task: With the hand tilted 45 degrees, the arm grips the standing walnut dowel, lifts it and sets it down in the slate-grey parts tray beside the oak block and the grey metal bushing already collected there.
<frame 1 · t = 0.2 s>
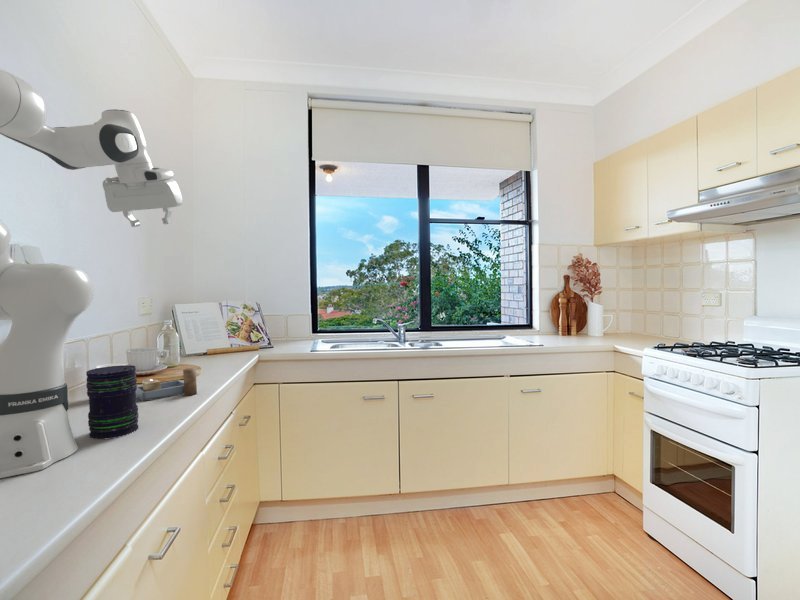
hand: (151, 225, 122), 52 cm above the counter, tool tilted 20°, fingers open, 8 cm apart
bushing: (148, 392, 136), point 1 cm above the counter, touching tray
oak block: (152, 394, 133), point 1 cm above the counter, touching tray
dowel: (190, 394, 136), on the counter
white cup: (112, 397, 135), on the counter
storage jar: (114, 432, 101), on the counter
tray: (162, 393, 137), on the counter
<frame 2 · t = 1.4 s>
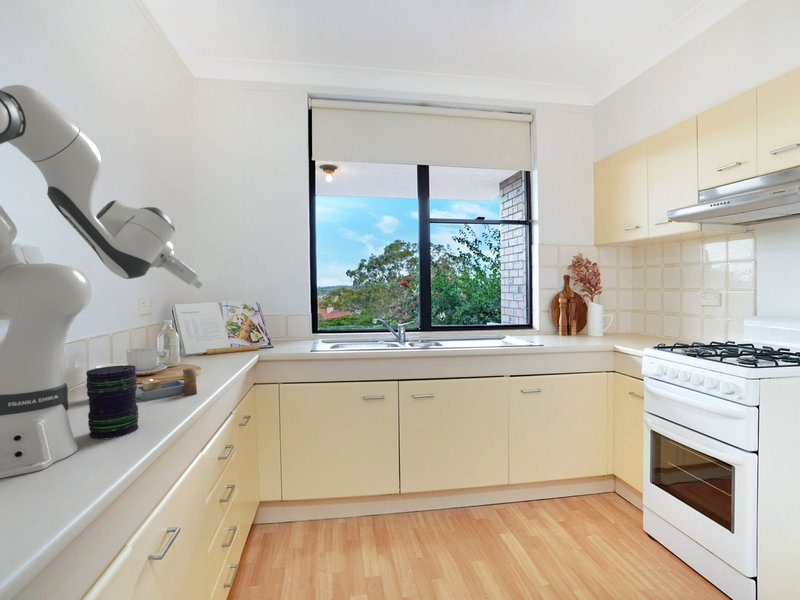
hand: (192, 281, 127), 36 cm above the counter, tool tilted 55°, fingers open, 8 cm apart
nothing on the counter moved.
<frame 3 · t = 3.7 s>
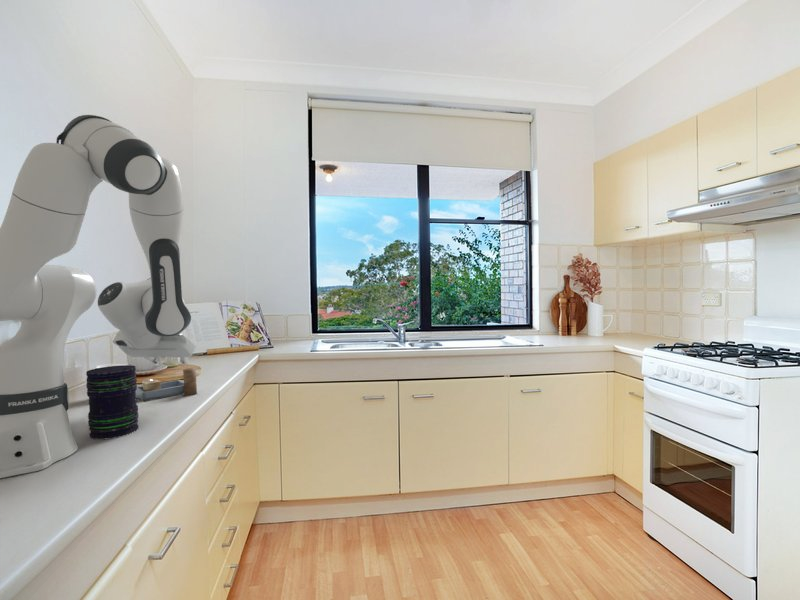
hand: (172, 361, 126), 12 cm above the counter, tool tilted 45°, fingers open, 8 cm apart
nothing on the counter moved.
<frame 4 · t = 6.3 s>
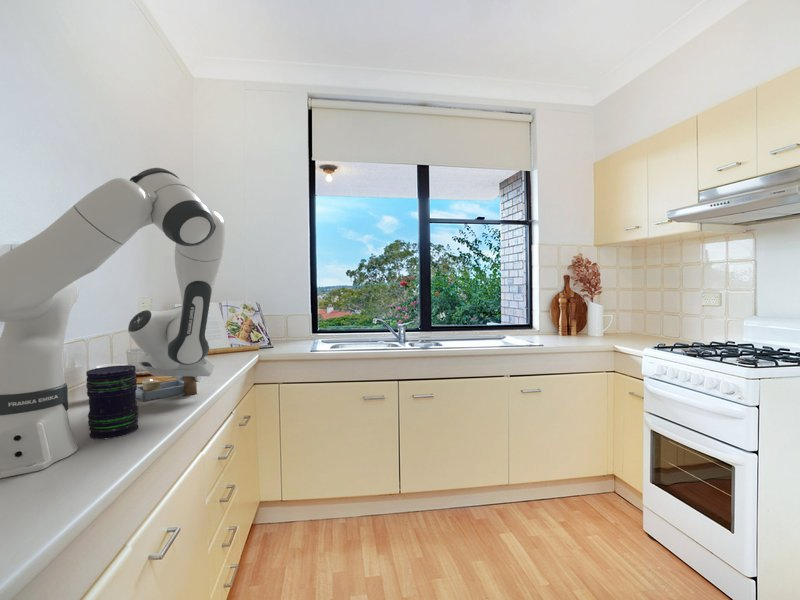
hand: (191, 380, 136), 4 cm above the counter, tool tilted 45°, fingers closed on dowel, 4 cm apart
dowel: (190, 394, 136), on the counter, touching gripper
everything else where it was.
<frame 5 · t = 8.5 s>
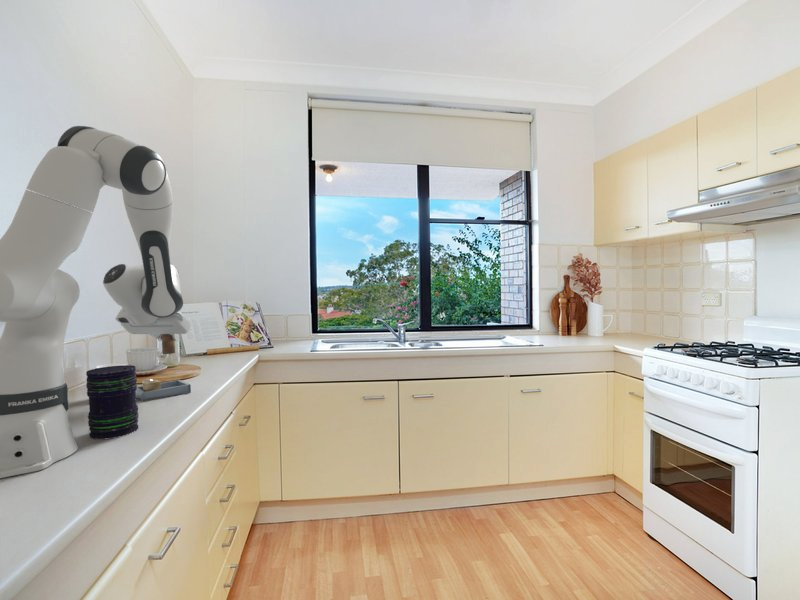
hand: (169, 339, 139), 17 cm above the counter, tool tilted 45°, fingers closed on dowel, 4 cm apart
dowel: (168, 353, 138), point 13 cm above the counter, touching gripper
everything else where it was.
when the fingers open (7 cm above the counter, at t = 10.8 s): dowel drops 1 cm, resting on tray.
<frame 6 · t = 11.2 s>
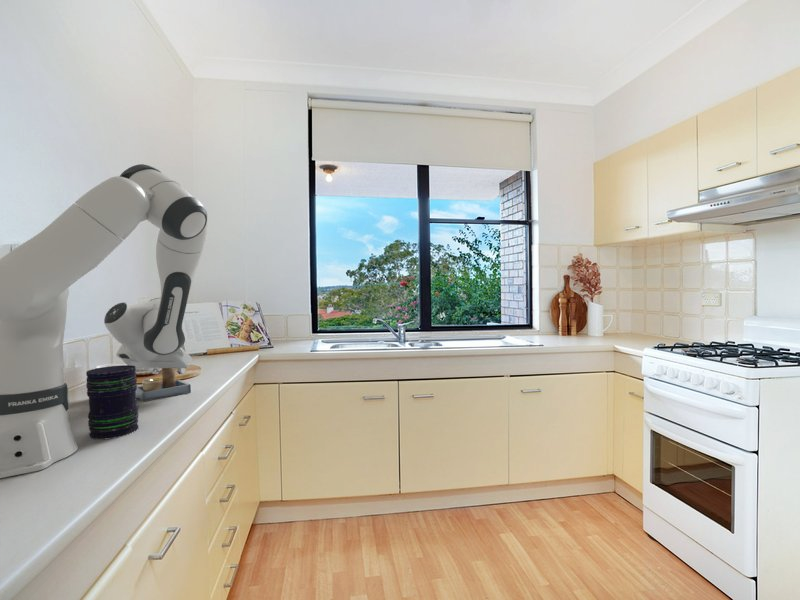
hand: (169, 372, 139), 7 cm above the counter, tool tilted 45°, fingers open, 8 cm apart
dowel: (169, 390, 139), point 1 cm above the counter, touching tray
everything else where it was.
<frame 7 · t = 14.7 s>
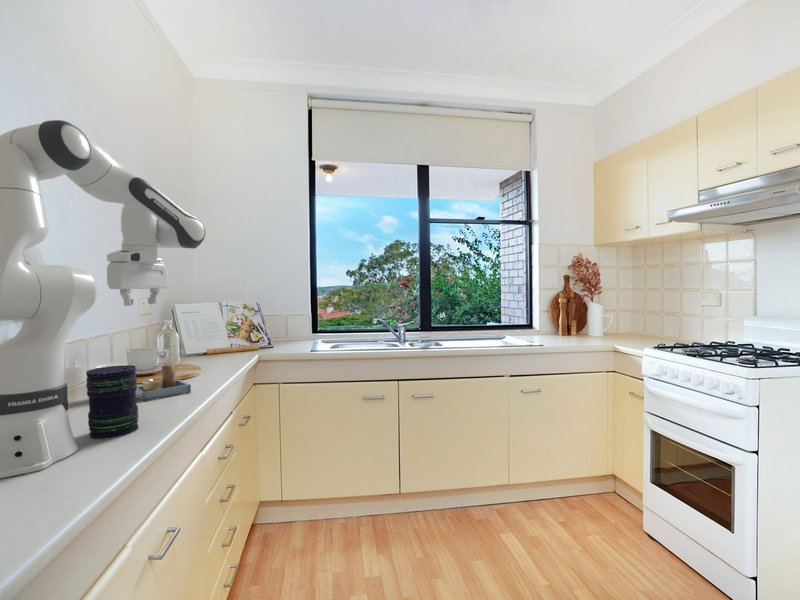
hand: (140, 304, 124), 29 cm above the counter, tool pointing down, fingers open, 8 cm apart
nothing on the counter moved.
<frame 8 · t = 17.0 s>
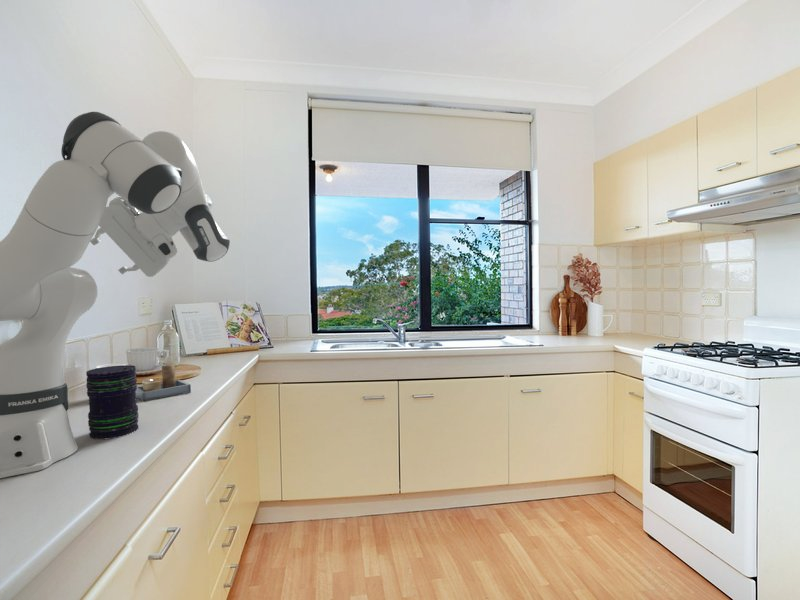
hand: (106, 257, 112), 42 cm above the counter, tool tilted 55°, fingers open, 8 cm apart
nothing on the counter moved.
at the end: dowel inside the target area on the tray (2.0 cm from its centre), point 0.8 cm above the tray's base; dowel tilted 0°; the gripper is holding nothing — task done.
